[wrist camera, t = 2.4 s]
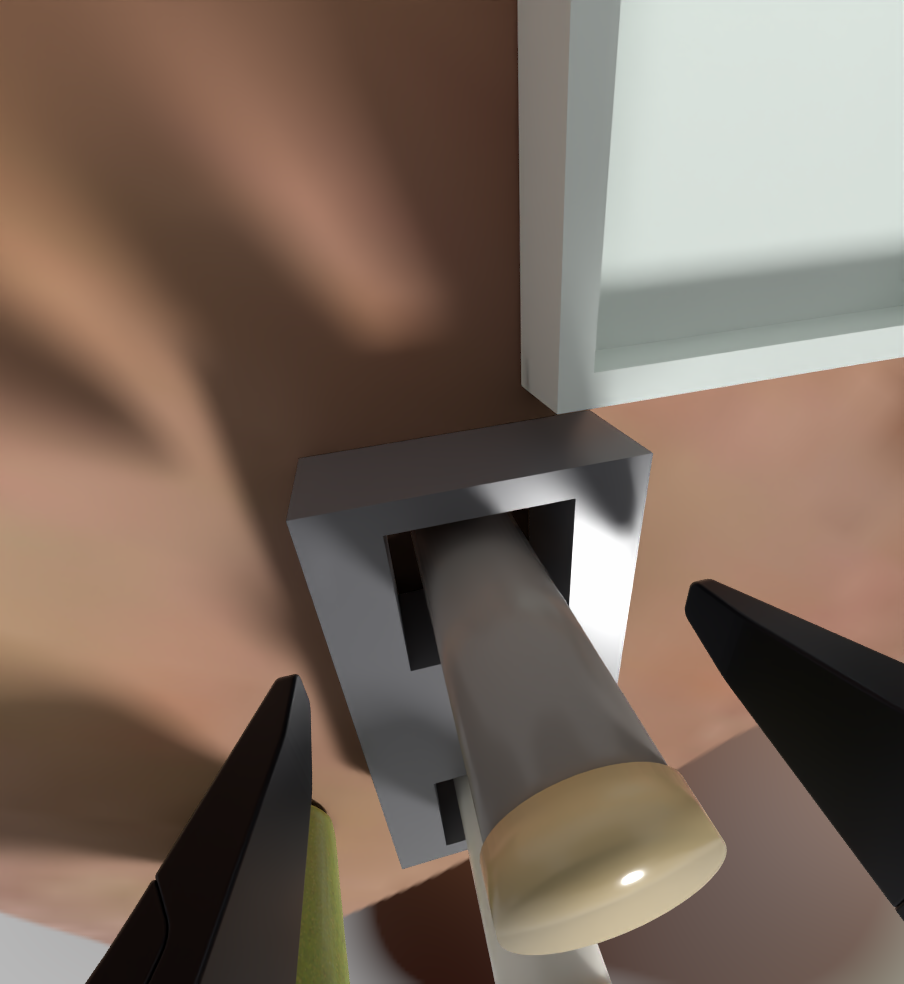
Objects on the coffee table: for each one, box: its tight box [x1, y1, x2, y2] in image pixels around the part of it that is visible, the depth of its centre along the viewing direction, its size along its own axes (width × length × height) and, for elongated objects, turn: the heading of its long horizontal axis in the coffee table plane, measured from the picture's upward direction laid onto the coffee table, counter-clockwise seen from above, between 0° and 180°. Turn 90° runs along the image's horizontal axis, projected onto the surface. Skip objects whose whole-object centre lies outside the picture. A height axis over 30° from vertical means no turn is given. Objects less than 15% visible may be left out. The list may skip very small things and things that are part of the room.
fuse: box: [453, 775, 612, 984], centre depth 15 cm, size 3×3×9 cm
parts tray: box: [518, 0, 904, 414], centre depth 9 cm, size 12×10×2 cm
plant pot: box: [296, 805, 350, 984], centre depth 15 cm, size 9×9×9 cm
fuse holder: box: [286, 410, 653, 869], centre depth 15 cm, size 8×16×3 cm, turn 5°
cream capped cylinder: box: [410, 511, 727, 955], centre depth 10 cm, size 3×3×9 cm
